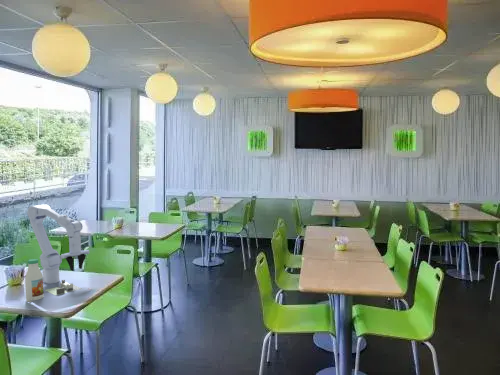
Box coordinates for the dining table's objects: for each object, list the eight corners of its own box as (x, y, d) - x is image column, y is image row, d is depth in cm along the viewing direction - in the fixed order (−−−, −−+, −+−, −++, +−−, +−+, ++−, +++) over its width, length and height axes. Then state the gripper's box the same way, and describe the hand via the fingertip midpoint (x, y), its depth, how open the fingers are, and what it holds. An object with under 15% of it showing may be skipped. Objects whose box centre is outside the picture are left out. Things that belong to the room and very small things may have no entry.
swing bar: (74, 289, 223) (74, 283, 223) (68, 290, 221) (67, 284, 220) (65, 285, 230) (65, 279, 230) (59, 286, 228) (59, 280, 227)
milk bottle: (25, 303, 206) (23, 262, 204) (26, 298, 213) (24, 258, 211) (43, 301, 209) (41, 260, 207) (44, 296, 216) (42, 257, 215)
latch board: (44, 292, 223) (44, 285, 223) (71, 285, 233) (70, 279, 233) (55, 297, 214) (54, 290, 214) (82, 290, 224) (82, 283, 224)
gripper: (64, 247, 222) (66, 273, 223) (91, 243, 233) (92, 267, 234) (58, 245, 227) (60, 271, 228) (85, 241, 237) (86, 265, 238)
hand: (76, 269), depth 231 cm, fingers open, 4 cm apart
